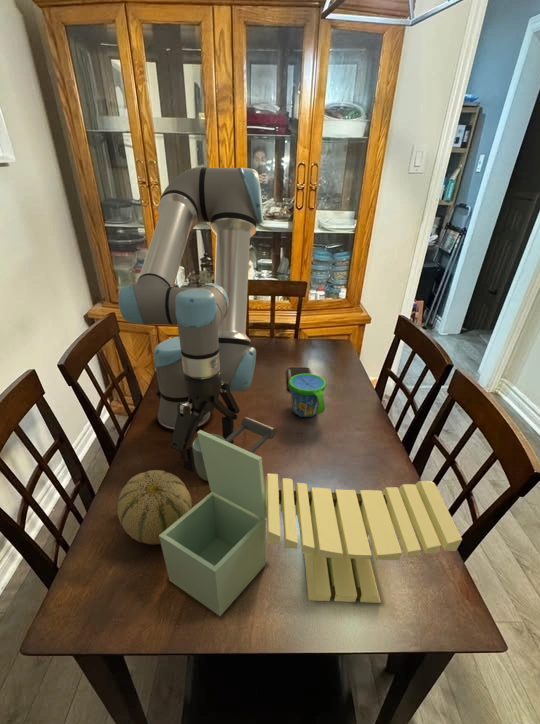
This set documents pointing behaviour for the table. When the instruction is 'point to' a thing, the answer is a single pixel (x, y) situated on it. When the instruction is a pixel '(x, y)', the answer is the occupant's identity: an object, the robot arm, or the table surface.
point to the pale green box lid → (237, 467)
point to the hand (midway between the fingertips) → (209, 455)
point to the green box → (214, 551)
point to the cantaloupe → (152, 505)
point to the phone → (296, 372)
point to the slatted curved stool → (356, 531)
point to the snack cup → (307, 394)
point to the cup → (200, 458)
